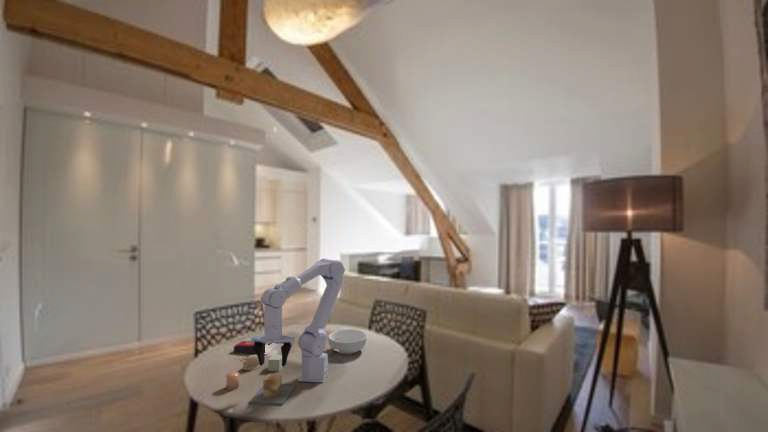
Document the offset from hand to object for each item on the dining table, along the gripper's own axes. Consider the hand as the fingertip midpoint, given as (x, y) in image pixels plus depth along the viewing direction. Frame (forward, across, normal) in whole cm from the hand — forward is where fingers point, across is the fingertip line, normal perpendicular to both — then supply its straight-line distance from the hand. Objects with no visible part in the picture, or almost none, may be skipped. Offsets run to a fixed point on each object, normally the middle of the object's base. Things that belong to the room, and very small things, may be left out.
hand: (273, 364), depth 116 cm
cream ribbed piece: (+10, -16, +17) cm, 26 cm away
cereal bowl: (+10, +19, +38) cm, 44 cm away
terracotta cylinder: (+9, -15, +2) cm, 18 cm away
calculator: (+10, -23, +37) cm, 44 cm away
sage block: (+10, -6, +18) cm, 21 cm away
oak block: (+9, +1, -2) cm, 9 cm away
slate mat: (+9, +1, -2) cm, 10 cm away
